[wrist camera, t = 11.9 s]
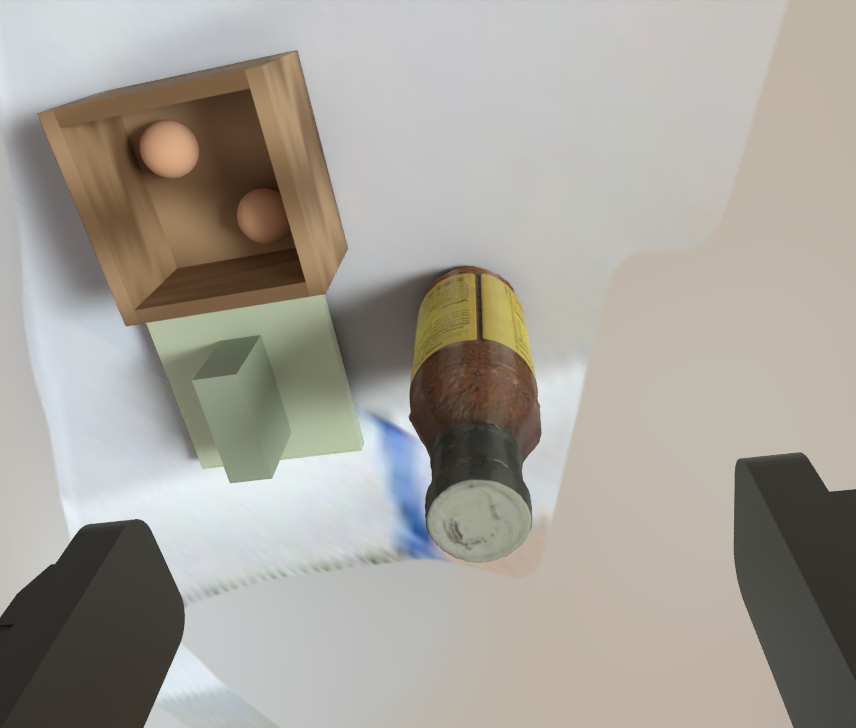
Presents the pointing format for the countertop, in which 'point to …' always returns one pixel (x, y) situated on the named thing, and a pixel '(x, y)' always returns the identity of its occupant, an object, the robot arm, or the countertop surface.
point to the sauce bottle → (475, 413)
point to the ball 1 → (169, 148)
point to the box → (202, 190)
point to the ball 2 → (263, 216)
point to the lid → (259, 385)
